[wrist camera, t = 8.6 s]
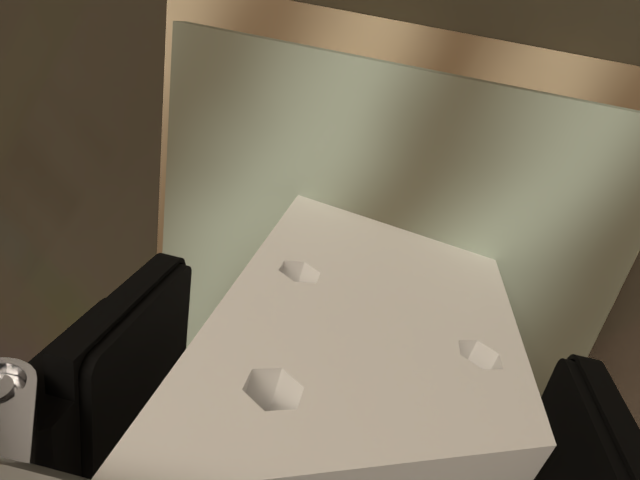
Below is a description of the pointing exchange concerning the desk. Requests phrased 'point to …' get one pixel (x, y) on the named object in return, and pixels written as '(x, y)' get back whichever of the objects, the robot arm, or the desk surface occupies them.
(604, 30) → the desk surface
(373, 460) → the white wedge bracket
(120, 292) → the robot arm
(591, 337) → the stand
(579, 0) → the desk surface
